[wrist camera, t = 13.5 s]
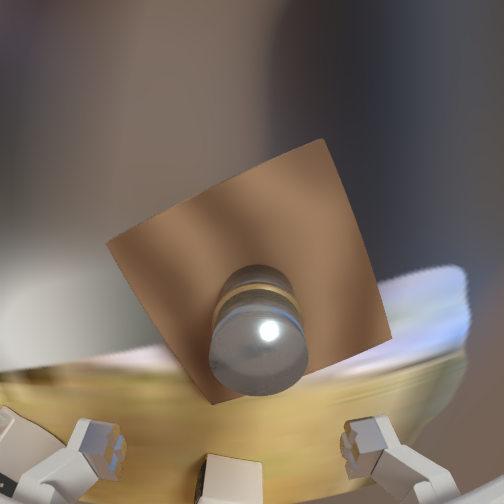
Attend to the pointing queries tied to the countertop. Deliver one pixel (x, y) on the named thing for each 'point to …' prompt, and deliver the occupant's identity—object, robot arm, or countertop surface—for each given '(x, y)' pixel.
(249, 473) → the medicine bottle
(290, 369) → the grey metal cylinder
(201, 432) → the countertop surface
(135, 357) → the countertop surface
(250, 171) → the walnut stand
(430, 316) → the countertop surface
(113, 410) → the countertop surface
